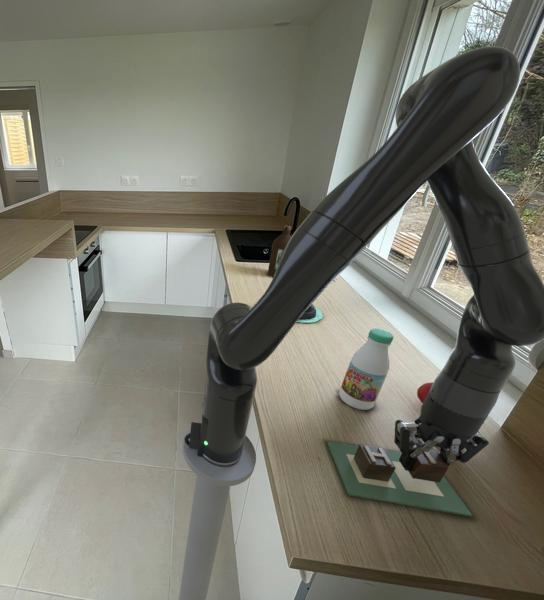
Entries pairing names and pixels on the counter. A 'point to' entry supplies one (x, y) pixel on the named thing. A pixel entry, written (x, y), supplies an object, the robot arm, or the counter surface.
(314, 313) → the chocolate cake
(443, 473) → the tile
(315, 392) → the counter surface
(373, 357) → the milk bottle
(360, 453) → the tile
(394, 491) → the word mat
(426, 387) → the onion
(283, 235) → the olive oil
